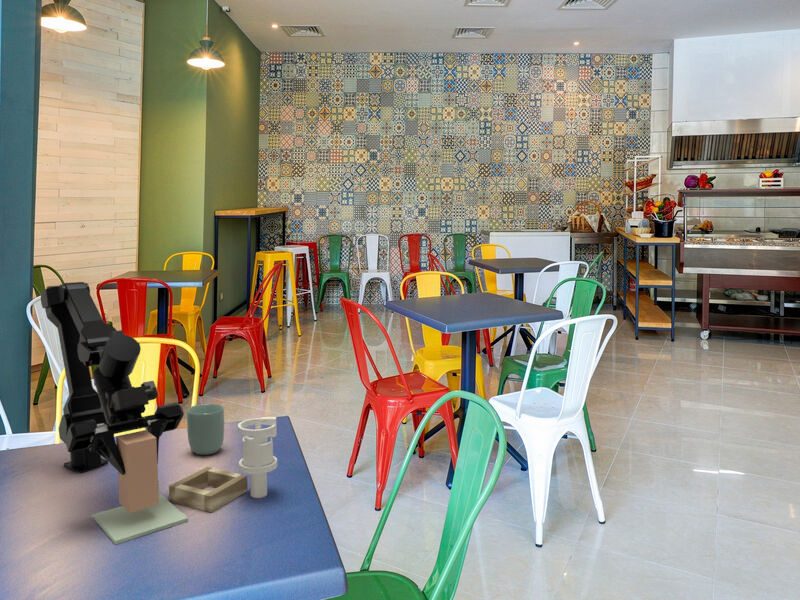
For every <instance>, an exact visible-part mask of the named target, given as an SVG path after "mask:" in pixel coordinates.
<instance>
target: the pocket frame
mask: <svg viewBox="0 0 800 600" xmlns="http://www.w3.org/2000/svg"><path fill="white" fill-rule="evenodd" d="M209 486H210V487H214V489H212V490H210V491H209V490H205V489H204V488H206V487H209ZM248 490H249V489H248V475H245V474H241V473H235V472H232V471H228V470H224V469H218V468H214V467H211V466H210V467H209V466H206V467H203V468H202V469H200V470H198V471H195V472H194V473H191V474H190V475H188V476H186V477H184V478H181V479H180V480H177V481H176V482H174V483H172V484H170V485H168V491H169V492H168V498H169V499H168V501H169V502H170V503H174V504H178V505H183V506H186V507H189V508H193V509H196V510H197V509H198V510H201V511H203V512H208V513H213V512H214V511H216V510H218V509H220V508H222V507H223V506H224V505H227V504H228V503H229V502H231V501H233V500H235V499H237V498H238V497H240V496H241V495H244V494H245V493H247V492H249V491H248Z"/></svg>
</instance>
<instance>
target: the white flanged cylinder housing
mask: <svg viewBox="0 0 800 600" xmlns="http://www.w3.org/2000/svg"><path fill="white" fill-rule="evenodd" d="M262 425H265V426H268V427H266V428H262ZM250 426H255V427H254V428H255V429H249V428H247V427H250ZM277 430H278V429H277V416H270V417H269V416H263V417H257V418H249V419H245V420H243V421H241V422H239V423H238V424H237V432H238V434H239V435H241V436H243V437H242V458H240V460H239V461H238V470H239V471H240V472H241V473H243V474H247V475H249V480H250V497H252V498H254V499H261V498H265V497H267V495H268V474H267V473H270V472H272V471H274V470H275V469H277V468H278V458H277V457H276V456H274V442H273V441H274V438H275V437H277V434H278V433H277ZM268 438H270V441H269V442H268Z"/></svg>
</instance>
